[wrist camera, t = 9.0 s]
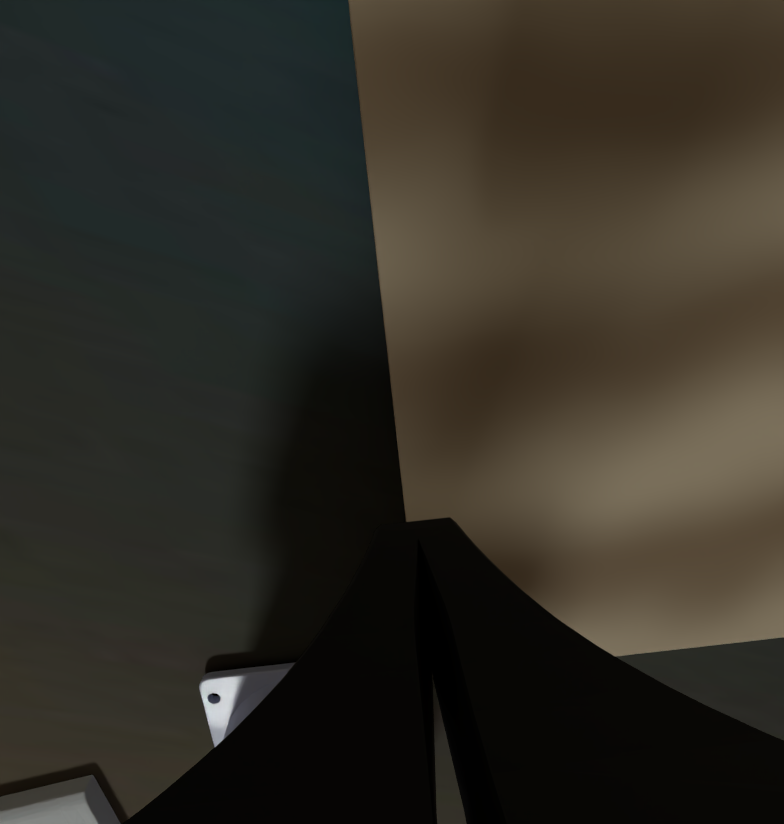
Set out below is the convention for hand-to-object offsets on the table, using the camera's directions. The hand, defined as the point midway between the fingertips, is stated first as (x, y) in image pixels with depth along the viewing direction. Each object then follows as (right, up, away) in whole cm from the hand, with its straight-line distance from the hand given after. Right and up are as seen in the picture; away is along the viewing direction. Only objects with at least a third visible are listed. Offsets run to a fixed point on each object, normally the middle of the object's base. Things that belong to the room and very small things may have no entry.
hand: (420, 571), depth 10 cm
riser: (+5, +5, +9) cm, 12 cm away
